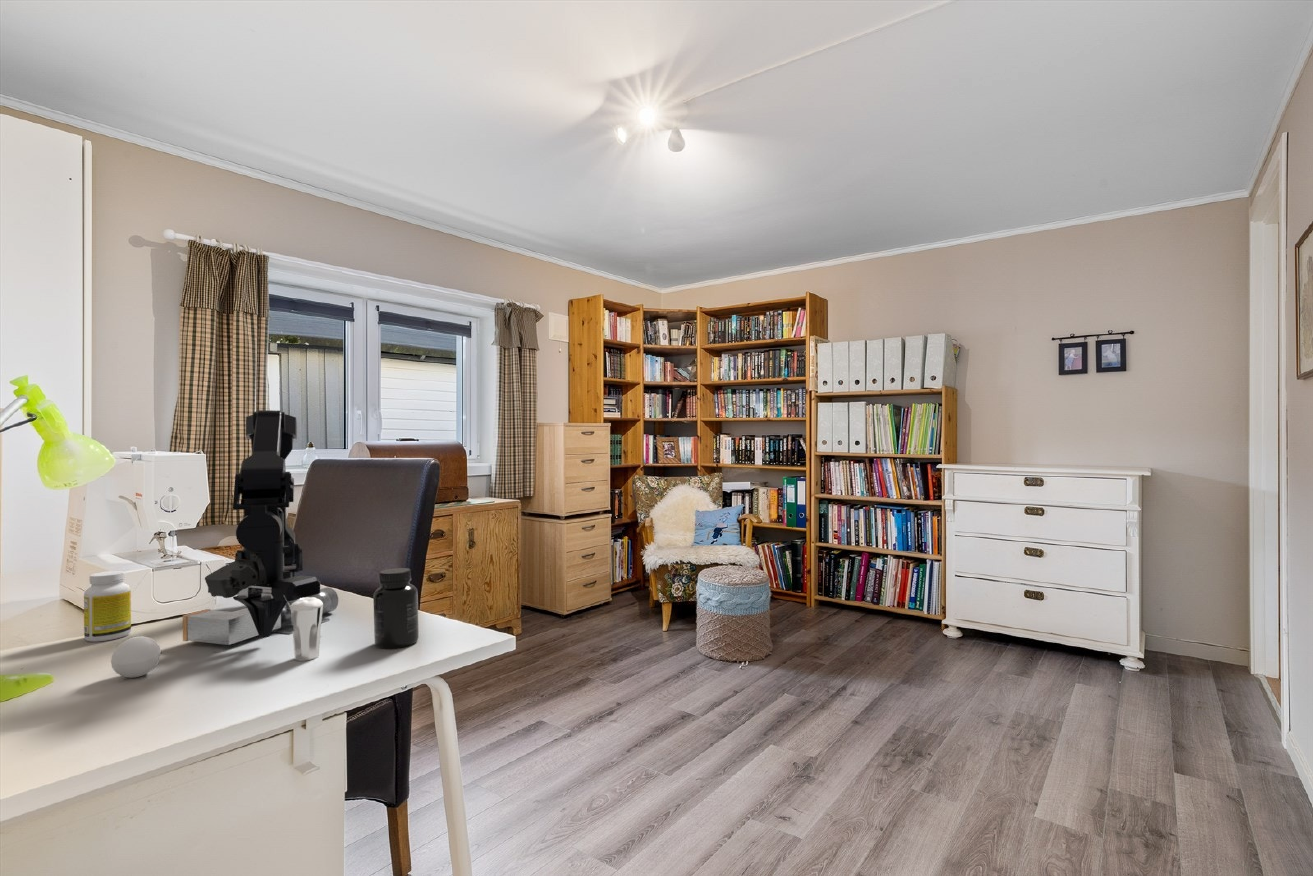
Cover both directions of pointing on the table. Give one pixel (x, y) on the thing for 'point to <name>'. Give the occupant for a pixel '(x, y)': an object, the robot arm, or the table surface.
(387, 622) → the supplement bottle
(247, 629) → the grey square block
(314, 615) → the milkshake
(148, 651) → the white egg
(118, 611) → the pill bottle
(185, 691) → the table surface
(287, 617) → the duct stub
